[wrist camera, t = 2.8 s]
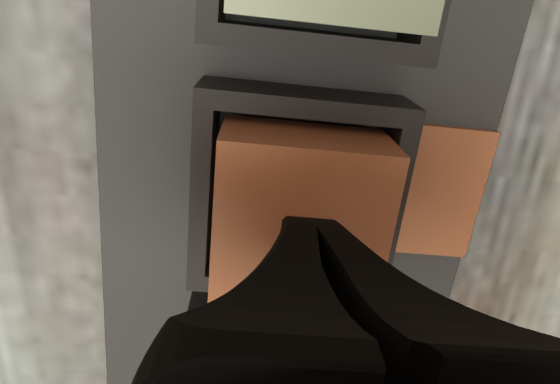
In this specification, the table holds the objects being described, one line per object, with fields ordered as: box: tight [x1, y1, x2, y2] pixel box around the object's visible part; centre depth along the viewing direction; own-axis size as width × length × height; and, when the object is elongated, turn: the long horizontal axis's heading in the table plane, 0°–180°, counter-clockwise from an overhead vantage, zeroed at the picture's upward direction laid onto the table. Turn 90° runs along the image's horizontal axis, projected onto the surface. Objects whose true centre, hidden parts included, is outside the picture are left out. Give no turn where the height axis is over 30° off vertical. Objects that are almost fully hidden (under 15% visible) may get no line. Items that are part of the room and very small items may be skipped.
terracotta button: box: [208, 114, 411, 303], centre depth 14 cm, size 5×5×3 cm
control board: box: [90, 0, 534, 384], centre depth 17 cm, size 14×27×4 cm, turn 174°
